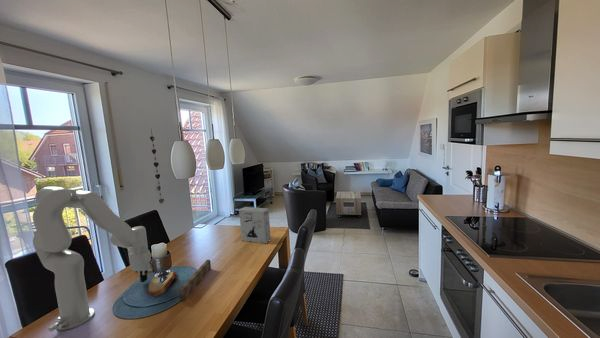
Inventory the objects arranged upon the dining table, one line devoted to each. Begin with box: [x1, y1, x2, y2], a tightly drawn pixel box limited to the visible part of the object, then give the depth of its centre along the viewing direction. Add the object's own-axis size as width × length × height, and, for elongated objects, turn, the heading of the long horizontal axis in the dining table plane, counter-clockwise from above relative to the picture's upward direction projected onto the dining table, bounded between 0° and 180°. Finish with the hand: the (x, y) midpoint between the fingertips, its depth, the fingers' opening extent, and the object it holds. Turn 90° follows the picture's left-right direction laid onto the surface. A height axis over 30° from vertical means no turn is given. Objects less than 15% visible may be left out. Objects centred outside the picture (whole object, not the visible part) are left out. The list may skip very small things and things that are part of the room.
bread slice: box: [147, 271, 177, 297], centre depth 136 cm, size 18×18×4 cm
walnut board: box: [178, 259, 212, 302], centre depth 134 cm, size 30×2×6 cm, turn 176°
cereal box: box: [238, 206, 271, 244], centre depth 188 cm, size 22×8×25 cm, turn 67°
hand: (144, 280), depth 137 cm, fingers closed
